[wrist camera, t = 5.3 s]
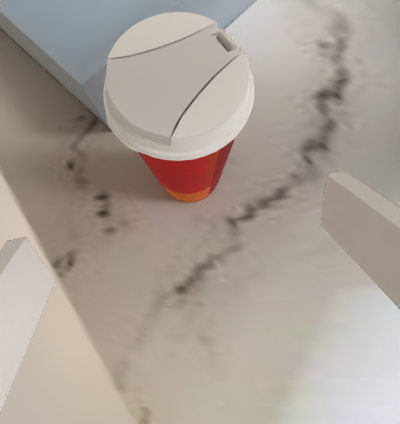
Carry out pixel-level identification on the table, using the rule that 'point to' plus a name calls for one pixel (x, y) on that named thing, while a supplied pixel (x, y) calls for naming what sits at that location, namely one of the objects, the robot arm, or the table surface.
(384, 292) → the robot arm
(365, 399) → the table surface
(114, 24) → the bin
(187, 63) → the paper cup
